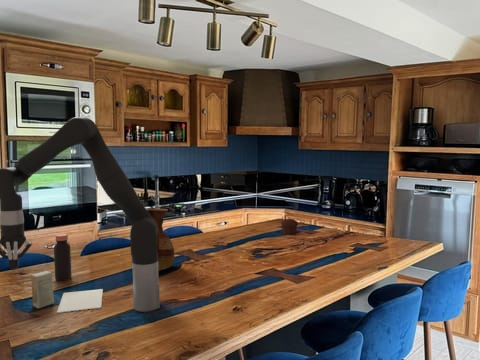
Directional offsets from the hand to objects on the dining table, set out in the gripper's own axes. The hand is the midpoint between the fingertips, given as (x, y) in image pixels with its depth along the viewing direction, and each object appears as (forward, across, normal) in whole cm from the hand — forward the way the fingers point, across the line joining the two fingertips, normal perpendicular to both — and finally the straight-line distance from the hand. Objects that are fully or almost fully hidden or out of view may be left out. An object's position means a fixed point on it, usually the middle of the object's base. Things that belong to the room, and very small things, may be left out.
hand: (14, 268), depth 150 cm
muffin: (+14, +147, +85) cm, 170 cm away
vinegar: (+15, +13, +30) cm, 36 cm away
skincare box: (+15, +9, 0) cm, 18 cm away
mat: (+14, +23, 0) cm, 27 cm away
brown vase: (+15, +53, +32) cm, 63 cm away
